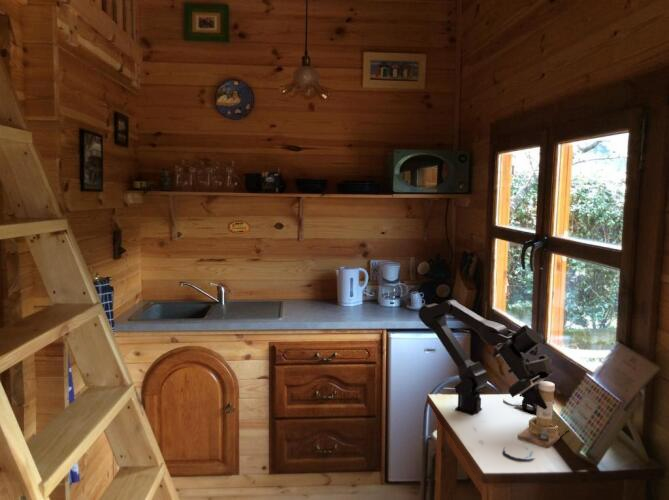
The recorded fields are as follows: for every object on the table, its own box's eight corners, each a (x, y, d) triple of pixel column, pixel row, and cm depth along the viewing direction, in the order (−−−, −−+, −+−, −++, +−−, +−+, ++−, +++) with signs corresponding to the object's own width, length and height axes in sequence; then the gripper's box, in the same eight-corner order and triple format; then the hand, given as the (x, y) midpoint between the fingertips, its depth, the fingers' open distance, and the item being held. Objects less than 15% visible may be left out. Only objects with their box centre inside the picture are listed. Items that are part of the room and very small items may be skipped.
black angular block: (553, 414, 181) (553, 401, 181) (541, 420, 176) (542, 406, 176) (518, 403, 190) (519, 390, 190) (506, 408, 186) (507, 395, 185)
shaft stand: (517, 438, 162) (518, 426, 162) (540, 421, 174) (540, 410, 174) (548, 447, 156) (548, 435, 156) (569, 429, 168) (570, 418, 168)
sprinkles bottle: (551, 426, 166) (555, 382, 165) (551, 431, 162) (554, 386, 161) (535, 423, 168) (539, 379, 167) (534, 428, 164) (538, 383, 163)
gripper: (520, 353, 159) (556, 401, 152) (548, 341, 172) (582, 385, 165) (494, 373, 165) (527, 420, 159) (522, 360, 178) (554, 403, 172)
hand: (549, 406), depth 163 cm, fingers closed on sprinkles bottle, 4 cm apart
